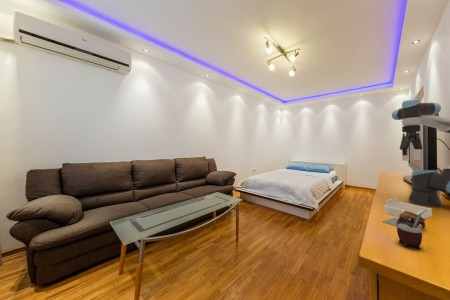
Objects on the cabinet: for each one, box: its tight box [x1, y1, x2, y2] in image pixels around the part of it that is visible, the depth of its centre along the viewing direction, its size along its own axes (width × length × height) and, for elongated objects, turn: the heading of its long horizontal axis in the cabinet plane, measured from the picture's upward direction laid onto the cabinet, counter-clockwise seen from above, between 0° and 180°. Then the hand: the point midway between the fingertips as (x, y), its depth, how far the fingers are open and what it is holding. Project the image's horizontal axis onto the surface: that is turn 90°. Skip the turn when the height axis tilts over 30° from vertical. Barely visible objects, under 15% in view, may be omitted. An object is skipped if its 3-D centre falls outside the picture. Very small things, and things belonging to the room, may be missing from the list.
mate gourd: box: [396, 210, 427, 250], centre depth 70 cm, size 8×8×15 cm
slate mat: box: [382, 217, 427, 230], centre depth 88 cm, size 12×12×1 cm
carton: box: [383, 197, 433, 220], centre depth 101 cm, size 18×14×7 cm
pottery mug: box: [396, 210, 426, 229], centre depth 84 cm, size 12×9×8 cm
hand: (411, 160), depth 105 cm, fingers open, 13 cm apart
